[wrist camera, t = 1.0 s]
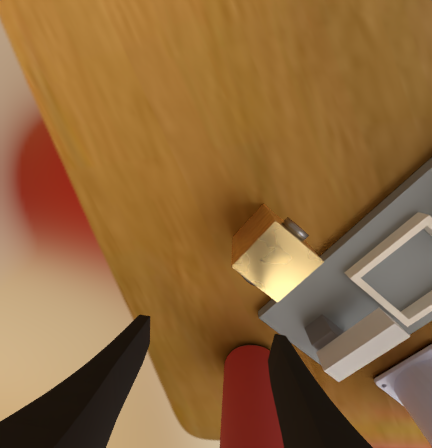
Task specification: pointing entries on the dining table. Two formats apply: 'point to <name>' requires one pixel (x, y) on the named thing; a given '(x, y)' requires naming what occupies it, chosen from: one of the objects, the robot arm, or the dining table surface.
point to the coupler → (273, 253)
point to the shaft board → (365, 285)
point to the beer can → (249, 401)
